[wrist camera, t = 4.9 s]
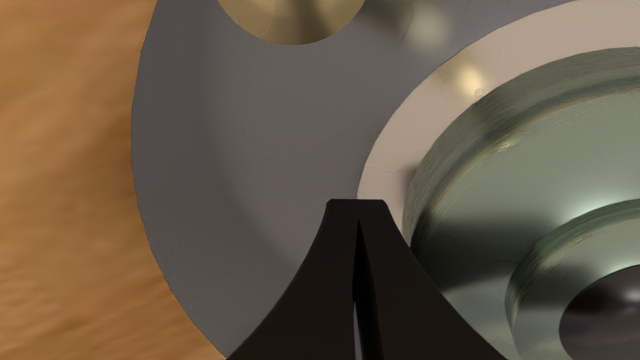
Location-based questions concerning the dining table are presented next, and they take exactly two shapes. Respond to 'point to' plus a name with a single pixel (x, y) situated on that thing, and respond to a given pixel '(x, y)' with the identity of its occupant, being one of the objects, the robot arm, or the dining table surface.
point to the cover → (540, 211)
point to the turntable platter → (312, 122)
